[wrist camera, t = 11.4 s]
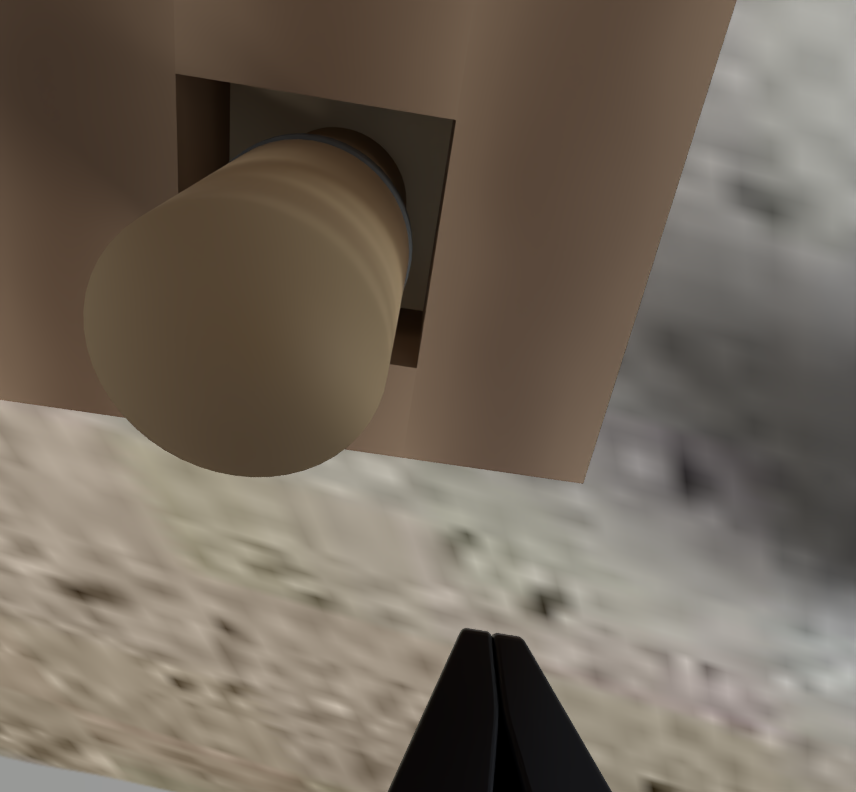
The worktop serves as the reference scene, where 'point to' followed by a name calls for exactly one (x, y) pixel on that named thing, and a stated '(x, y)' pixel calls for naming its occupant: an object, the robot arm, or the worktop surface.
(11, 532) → the worktop surface
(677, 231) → the worktop surface
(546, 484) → the worktop surface
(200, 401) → the oak peg
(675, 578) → the worktop surface
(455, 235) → the walnut socket block
